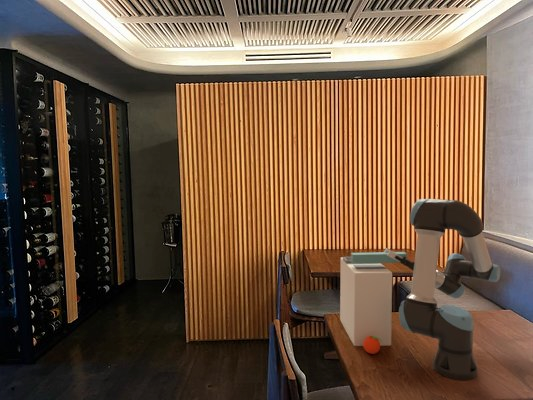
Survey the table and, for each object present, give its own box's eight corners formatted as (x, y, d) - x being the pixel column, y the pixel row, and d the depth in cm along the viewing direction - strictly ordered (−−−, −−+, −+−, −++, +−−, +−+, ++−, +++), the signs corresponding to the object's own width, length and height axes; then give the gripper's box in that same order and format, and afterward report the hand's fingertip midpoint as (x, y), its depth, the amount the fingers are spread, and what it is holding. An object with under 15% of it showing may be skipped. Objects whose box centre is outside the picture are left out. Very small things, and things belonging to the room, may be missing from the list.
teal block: (403, 260, 184) (403, 251, 183) (406, 262, 180) (406, 253, 179) (350, 261, 183) (350, 252, 183) (352, 263, 179) (352, 254, 179)
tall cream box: (371, 319, 204) (372, 254, 201) (391, 345, 174) (392, 269, 172) (340, 319, 204) (340, 254, 201) (354, 346, 174) (354, 269, 171)
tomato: (382, 350, 169) (383, 334, 169) (383, 358, 163) (383, 341, 162) (363, 348, 171) (363, 332, 171) (362, 355, 165) (362, 339, 164)
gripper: (435, 289, 174) (388, 263, 173) (419, 278, 191) (377, 254, 190) (444, 274, 174) (397, 248, 172) (427, 264, 191) (385, 240, 189)
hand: (386, 251), depth 181 cm, fingers closed on teal block, 4 cm apart
